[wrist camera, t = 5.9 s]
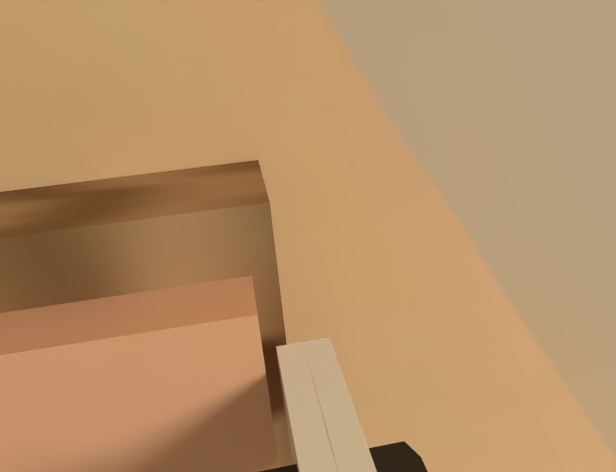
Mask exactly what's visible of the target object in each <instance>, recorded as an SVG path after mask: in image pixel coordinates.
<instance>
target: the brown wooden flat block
mask: <svg viewBox="0 0 616 472" xmlns="http://www.w3.org/2000/svg"><path fill="white" fill-rule="evenodd" d="M246 276H252V278H253V285H254V292H255V299H256V306H257V313H258V320H259V327H260V334H261V341H262V348H263V355H264V362H265V368H266V375H267V382H268V389H269V396H270V403H271V410H272V417H273V424H274V431H275V438H276V445H277V452H278V460H279V467H284V466H289V465H294V464H293V458H292V453H291V447H290V442H289V436H288V430H287V425H286V418H285V411H284V403H283V395H282V388H281V380H280V372H279V365H278V357H277V349H276V346H282V345H286V337H285V328H284V320H283V311H282V303H281V295H280V286H279V278H278V270H277V261H276V253H275V244H274V236H273V228H272V219H271V211H270V203H269V199H268V195H267V191H266V188H265V184H264V180H263V177H262V173H261V169H260V166H259V162H258V160H256V161H248V162H240V163H232V164H224V165H216V166H207V167H199V168H191V169H183V170H175V171H167V172H159V173H151V174H143V175H135V176H127V177H119V178H111V179H103V180H95V181H86V182H78V183H70V184H62V185H54V186H46V187H38V188H30V189H22V190H14V191H6V192H0V313H5V312H11V311H18V310H25V309H31V308H38V307H45V306H52V305H58V304H65V303H72V302H78V301H85V300H92V299H98V298H105V297H112V296H119V295H125V294H132V293H139V292H145V291H152V290H159V289H166V288H172V287H179V286H186V285H192V284H199V283H206V282H212V281H219V280H226V279H233V278H239V277H246Z"/></svg>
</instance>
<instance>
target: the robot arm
mask: <svg viewBox="0 0 616 472" xmlns="http://www.w3.org/2000/svg"><path fill="white" fill-rule="evenodd" d="M276 349H277V357H278V365H279V372H280V380H281V388H282V395H283V403H284V411H285V418H286V425H287V430H288V436H289V442H290V447H291V453H292V458H293V464H294V465H289V466H284V467H279V468H274V469H269V470H264V471H259V472H427V469H426V467H425V465H424V463H423V461H422V459H421V457H420V456H419V455H418V454H417V453H416V452H415V451H414V450H413V449H412V448H411V447H410V446H409V445H407V444H406V443H405V442H399V443H393V444H388V445H383V446H378V447H373V448H368V445H367V442H366V439H365V437H364V434H363V431H362V428H361V425H360V422H359V420H358V417H357V414H356V411H355V408H354V405H353V402H352V400H351V397H350V394H349V391H348V388H347V385H346V383H345V380H344V377H343V374H342V371H341V368H340V366H339V363H338V360H337V357H336V354H335V351H334V348H333V346H332V343H331V340H330V337H329V338H323V339H317V340H311V341H305V342H300V343H294V344H288V345H282V346H276Z"/></svg>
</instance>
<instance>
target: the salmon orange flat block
mask: <svg viewBox="0 0 616 472" xmlns="http://www.w3.org/2000/svg"><path fill="white" fill-rule="evenodd" d="M274 468H279V460H278V452H277V445H276V438H275V431H274V424H273V417H272V410H271V403H270V396H269V389H268V382H267V375H266V368H265V362H264V355H263V348H262V341H261V334H260V327H259V320H258V313H257V306H256V299H255V292H254V285H253V278H252V276H246V277H239V278H233V279H226V280H219V281H212V282H206V283H199V284H192V285H186V286H179V287H172V288H166V289H159V290H152V291H145V292H139V293H132V294H125V295H119V296H112V297H105V298H98V299H92V300H85V301H78V302H72V303H65V304H58V305H52V306H45V307H38V308H31V309H25V310H18V311H11V312H5V313H0V472H259V471H264V470H269V469H274Z"/></svg>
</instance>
